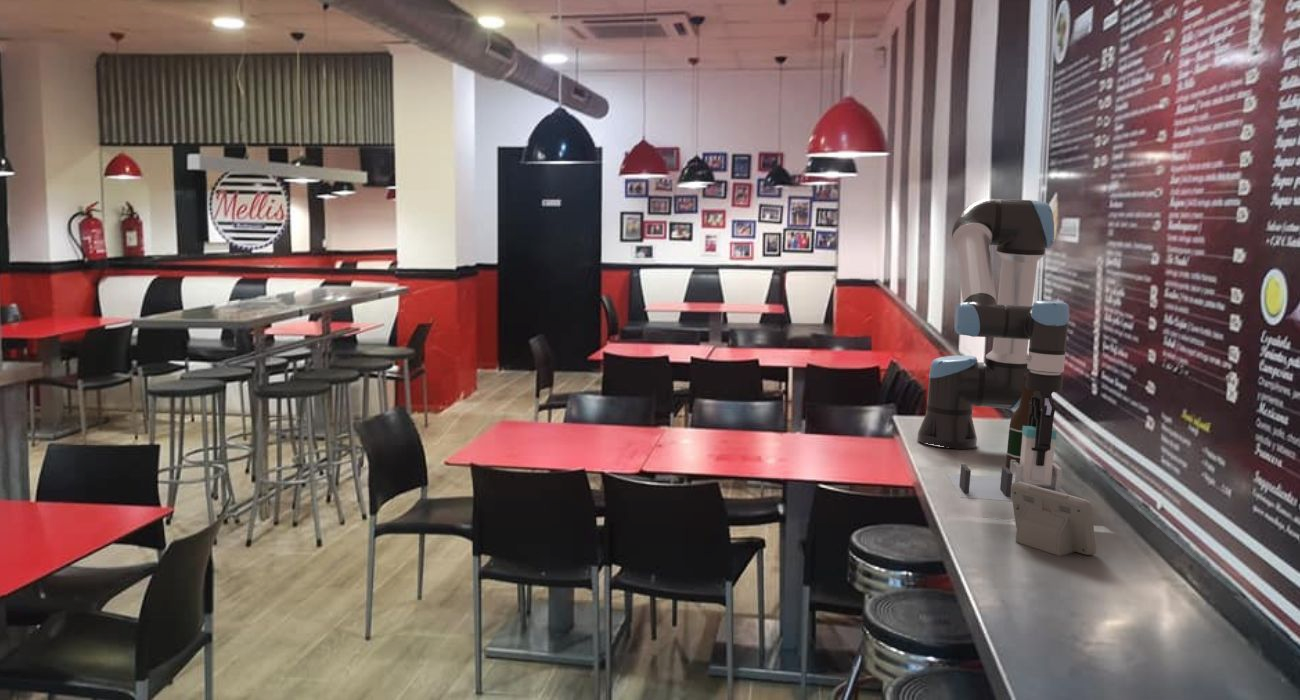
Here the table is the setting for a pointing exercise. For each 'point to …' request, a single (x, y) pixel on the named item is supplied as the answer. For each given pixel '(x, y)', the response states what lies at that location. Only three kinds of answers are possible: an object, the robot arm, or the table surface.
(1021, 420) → the beer bottle
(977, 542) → the table surface
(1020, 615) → the table surface
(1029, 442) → the white and teal box
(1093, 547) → the digital clock
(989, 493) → the panel
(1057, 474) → the port
